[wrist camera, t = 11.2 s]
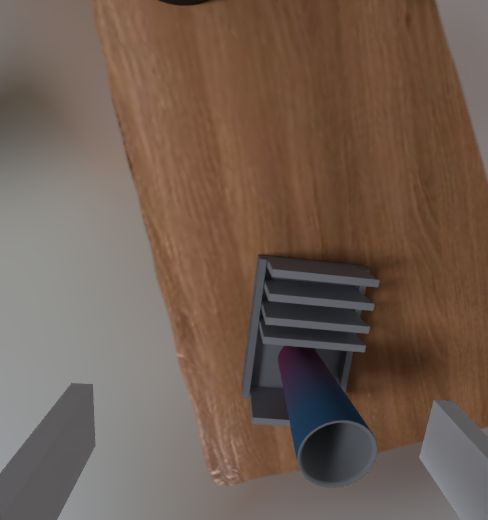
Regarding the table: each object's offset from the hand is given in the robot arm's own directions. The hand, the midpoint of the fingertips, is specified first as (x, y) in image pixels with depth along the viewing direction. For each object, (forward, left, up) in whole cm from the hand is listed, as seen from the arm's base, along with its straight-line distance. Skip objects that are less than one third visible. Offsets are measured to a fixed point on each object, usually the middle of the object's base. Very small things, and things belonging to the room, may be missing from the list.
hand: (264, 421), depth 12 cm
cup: (+11, +8, -27) cm, 30 cm away
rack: (+8, +8, -28) cm, 30 cm away
